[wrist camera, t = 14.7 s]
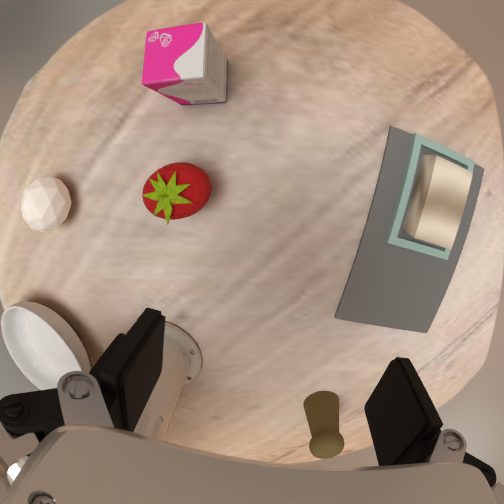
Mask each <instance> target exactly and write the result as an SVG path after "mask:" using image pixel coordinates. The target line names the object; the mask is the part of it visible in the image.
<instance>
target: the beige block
mask: <svg viewBox="0 0 504 504" xmlns="http://www.w3.org/2000/svg"><path fill="white" fill-rule="evenodd" d="M472 176H473V173H472V172H470V171H468V170H466V169H464V168H462V167H460V166H458V165H456V164H454V163H452V162H450V161H448V160H446V159H444V158H441V157H439V156H437V155H422V154H421V159H420V163H419V168H418V172H417V176H416V180H415V184H414V188H413V191H412V195H411V199H410V202H409V206H408V209H407V213H406V216H405V219H404V223H403V226H402V230H403V231H405V232H406V233H408V234H409V235H411V236H412V237H414V238H416V239H420V240H423V241H426V242H429V243H432V244H435V245H438V246H441V247H444V248H447V249H450V250H451V249H452V246H453V243H454V240H455V237H456V234H457V231H458V228H459V225H460V221H461V218H462V215H463V211H464V207H465V204H466V200H467V196H468V192H469V188H470V184H471V180H472Z"/></svg>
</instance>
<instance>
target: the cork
mask: <svg viewBox="0 0 504 504" xmlns="http://www.w3.org/2000/svg"><path fill="white" fill-rule="evenodd" d="M304 409H305V413H306V416H307V420H308V424H309V428H310V431H311V435H312V439H311V440H310V444H309V449H310V451H311V453H312V454H313V455H314V456H315V457H317V458H322V459H325V458H331V457H334V456H336V455H338V454H339V453H340V452H341V451H342V450H343V447H344V439H343V437H342V435H341V434H340V433H339V399H338V396H337V395H336V394H335V393H333V392H329V391H319V392H315V393H313V394H311V395H309V396H308V397H307V398H306V399H305V401H304Z"/></svg>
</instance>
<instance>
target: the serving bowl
mask: <svg viewBox="0 0 504 504" xmlns="http://www.w3.org/2000/svg"><path fill="white" fill-rule="evenodd" d="M1 329H2V334H3V338H4V341H5V344H6V346H7V349H8V351H9V353H10V354H11V356H12V358H13V360H14V361H15V363H16V364H17V366H18V367H19V368H20V370H21V371H22V372H23V373H24V375H25V376H26V377H27V378H28V379H29V380H30V381H31V382H32V383H33V384H34V385H36V386H37V387H38V388H39V389H40V390H47V389H53V388H57V383H58V381H59V379H60V378H61V377H62V376H63V375H64V374H66V373H68V372H72V371H82V372H87V373H89V372H90V370H91V369H90V363H89V359H88V355H87V353H86V350H85V348H84V346H83V344H82V342H81V340H80V339H79V337H78V336H77V334H76V333H75V331H74V330H73V329H72V328H71V326H70V325H69V324H68V323H67V322H66V321H65V320H64V319H63V318H62V317H61V316H59V315H58V314H57V313H56V312H54V311H53V310H51V309H50V308H48V307H46V306H44V305H41V304H39V303H35V302H20V303H16V304H14V305H12V306H10V307H8V308H7V309H6V310H5V311H4V313H3V315H2V318H1Z"/></svg>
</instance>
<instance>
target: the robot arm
mask: <svg viewBox="0 0 504 504" xmlns="http://www.w3.org/2000/svg"><path fill="white" fill-rule="evenodd" d="M201 364H202V359H201V354H200V351H199V348H198V347H197V345H196V343H195V342H194V341H193V339H192V338H191V337H190V336H189V335H188V334H187V333H185V332H184V331H183V330H181V329H180V328H178V327H176V326H174V325H172V324H170V323H167V322H165V316H162V315H161V311H158V310H154V309H151V308H146V309H145V310H144V312H143V313H142V314H141V316H140V317H139V318H138V320H137V321H136V322H135V324H134V325H133V326H132V327H131V329H130V330H129V331H128V333H127V334H126V335H125V334H122V333H120V334H119V335H118V336H117V337H116V338H115V339H114V340H113V342H112V343H111V344H110V346H109V347H108V348H107V349H106V351H105V352H104V353H103V355H102V356H101V357H100V359H99V360H98V361H97V363H96V364H95V365H94V366H93V368H92V369H91V370H90V372H89V373H87V372H82V371H72V372H68V373H66V374H64V375H63V376H62V377H61V378H60V379H59V381H58V383H57V388H53V389H47V390H40V391H34V392H27V393H19V394H12V395H8V396H6V397H4V398H2V399H1V400H0V504H504V486H503V485H502V484H501V483H500V482H498V483H497V484H496V474H495V471H494V469H493V468H492V467H490V466H489V465H487V464H486V463H484V462H482V461H481V460H479V459H477V458H475V457H474V456H472V455H470V454H468V453H467V452H465V451H466V441H465V439H464V437H463V436H462V435H461V434H460V433H459V432H458V431H456V430H453V429H445V430H443V431H442V432H441V430H440V428H441V427H442V425H443V423H442V421H441V419H440V417H439V415H438V413H437V411H436V409H435V406H434V404H433V403H432V401H431V399H430V397H429V395H428V393H427V391H426V389H425V387H424V385H423V383H422V381H421V379H420V377H419V376H418V374H417V372H416V370H415V368H414V366H413V365H412V363H411V361H410V359H408V358H400V357H397V358H395V359H394V360H392V361H391V362H390V363H389V365H388V367H387V369H386V371H385V372H384V374H383V376H382V378H381V379H380V381H379V383H378V384H377V386H376V388H375V389H374V391H373V393H372V394H371V396H370V398H369V399H368V401H367V402H366V404H365V414H366V417H367V421H368V425H369V428H370V432H371V436H372V440H373V444H374V447H375V451H376V456H377V460H378V464H379V466H373V467H321V466H304V465H291V464H281V463H272V462H264V461H256V460H250V459H243V458H237V457H231V456H226V455H221V454H216V453H211V452H207V451H202V450H198V449H194V448H189V447H185V446H181V445H177V444H173V443H170V442H166V441H163V439H164V437H165V434H166V431H167V428H168V426H169V423H170V420H171V417H172V415H173V412H174V409H175V407H176V404H177V401H178V399H179V396H180V393H181V391H182V388H183V385H186V384H188V383H190V382H192V381H193V380H194V379H195V378H196V377H197V375H198V374H199V371H200V369H201Z"/></svg>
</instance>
